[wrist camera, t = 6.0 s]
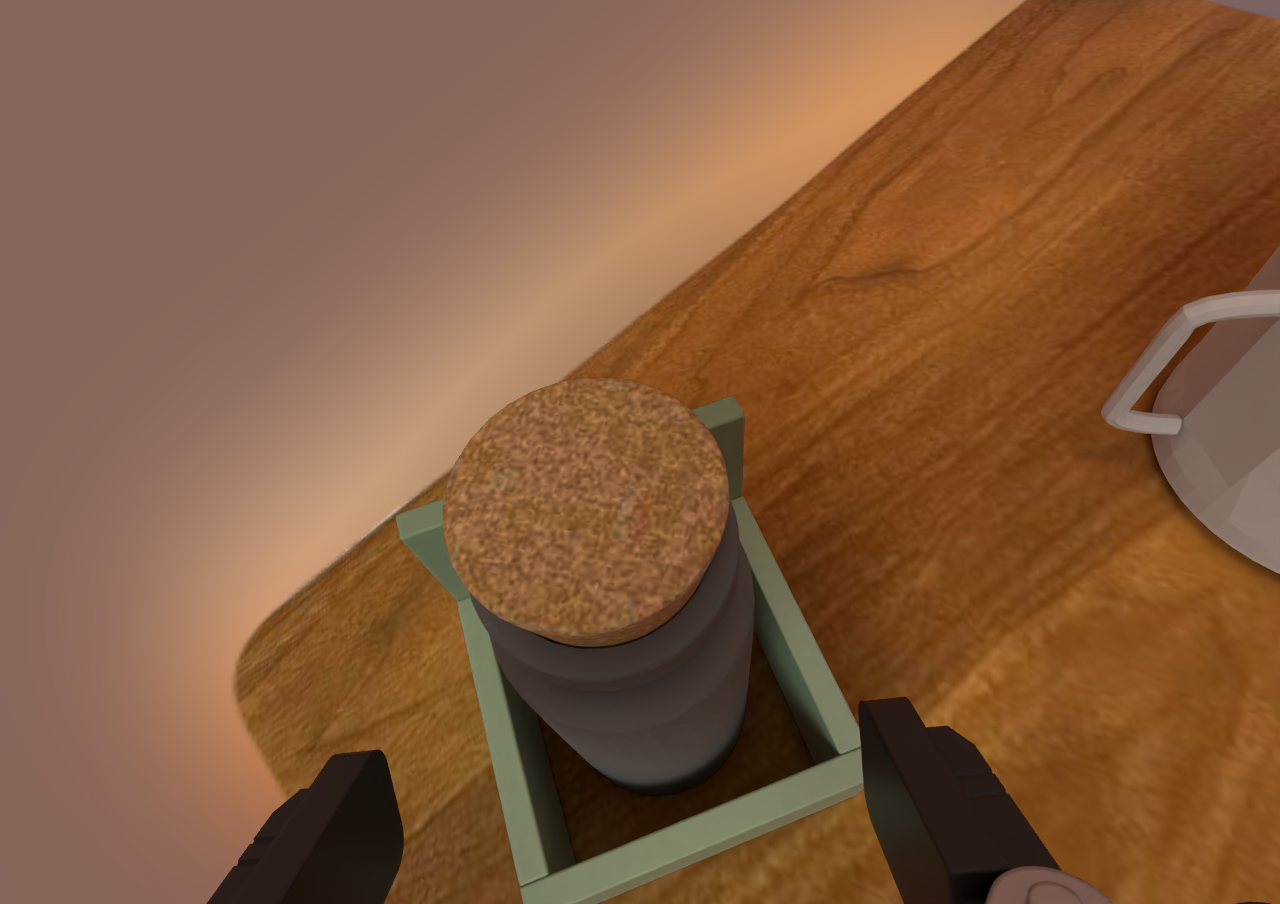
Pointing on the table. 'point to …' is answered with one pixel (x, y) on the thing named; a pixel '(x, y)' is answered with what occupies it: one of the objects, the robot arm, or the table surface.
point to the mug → (1218, 413)
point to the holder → (571, 892)
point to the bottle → (610, 575)
